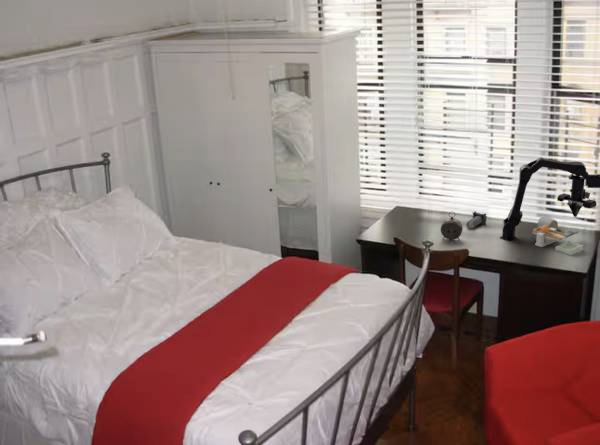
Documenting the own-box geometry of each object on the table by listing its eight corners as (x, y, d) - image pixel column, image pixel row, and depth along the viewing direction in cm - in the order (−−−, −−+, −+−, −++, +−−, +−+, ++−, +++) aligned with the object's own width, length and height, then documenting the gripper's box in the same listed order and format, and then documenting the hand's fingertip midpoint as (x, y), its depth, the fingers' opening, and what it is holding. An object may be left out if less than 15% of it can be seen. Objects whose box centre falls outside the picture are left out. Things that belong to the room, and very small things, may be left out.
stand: (541, 247, 353) (542, 235, 351) (535, 245, 357) (535, 233, 354) (556, 241, 360) (557, 229, 358) (549, 239, 363) (550, 227, 361)
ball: (545, 234, 355) (546, 227, 353) (539, 232, 358) (539, 225, 356) (550, 232, 357) (551, 225, 355) (543, 230, 360) (544, 223, 358)
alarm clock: (462, 239, 368) (463, 210, 363) (461, 243, 364) (462, 214, 358) (441, 238, 372) (441, 209, 366) (439, 241, 367) (440, 212, 362)
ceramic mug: (549, 234, 369) (550, 221, 366) (536, 230, 375) (537, 217, 373) (562, 230, 374) (563, 216, 372) (549, 226, 381) (550, 212, 378)
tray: (571, 255, 342) (571, 250, 341) (555, 250, 349) (555, 244, 348) (583, 250, 347) (583, 244, 346) (567, 245, 354) (567, 239, 353)
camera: (474, 224, 393) (464, 231, 385) (472, 211, 391) (461, 218, 383) (489, 224, 387) (478, 231, 379) (487, 211, 385) (476, 218, 377)
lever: (557, 246, 349) (557, 237, 347) (531, 238, 360) (532, 229, 359) (577, 237, 358) (578, 228, 357) (552, 230, 370) (553, 221, 368)
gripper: (604, 187, 347) (601, 217, 352) (570, 180, 361) (568, 208, 367) (591, 192, 341) (588, 222, 346) (557, 185, 355) (555, 213, 361)
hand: (575, 216), depth 355 cm, fingers closed
